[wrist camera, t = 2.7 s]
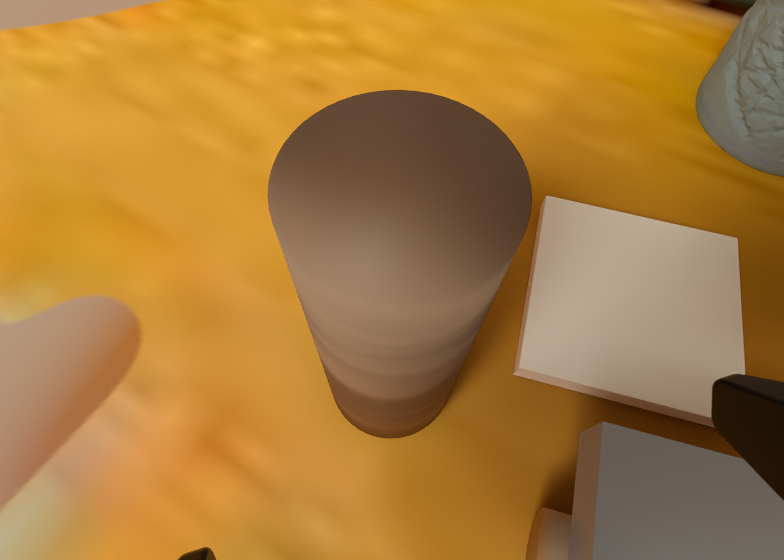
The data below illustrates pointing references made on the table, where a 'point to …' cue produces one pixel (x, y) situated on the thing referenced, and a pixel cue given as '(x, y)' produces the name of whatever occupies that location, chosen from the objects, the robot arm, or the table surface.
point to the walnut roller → (397, 245)
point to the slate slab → (660, 504)
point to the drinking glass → (749, 91)
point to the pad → (631, 309)
